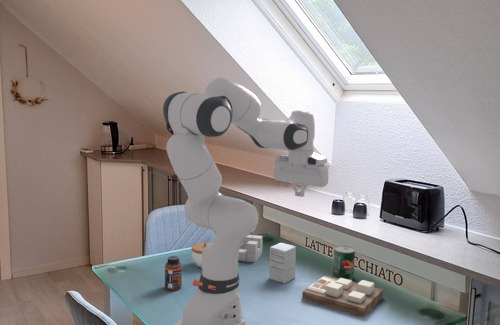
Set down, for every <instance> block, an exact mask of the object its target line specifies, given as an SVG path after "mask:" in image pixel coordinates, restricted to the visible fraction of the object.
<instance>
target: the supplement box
mask: <svg viewBox="0 0 500 325" xmlns="http://www.w3.org/2000/svg"><path fill="white" fill-rule="evenodd" d="M296 256H297V246H295V245H292V244H288V243H285V242H279V243H277V244H275V245H272V246H270V247H269V272H268V273H269V274H268V275H269V276H268V278H269V279H270V280H272V281H275V282H279V283H281V284H286V283H288V282H290V281H291V280H294V279H295V278H296V262H297V260H296Z"/></svg>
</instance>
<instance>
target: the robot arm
mask: <svg viewBox="0 0 500 325" xmlns="http://www.w3.org/2000/svg"><path fill="white" fill-rule="evenodd" d="M261 110H262V106H261V101H260V99H259V98H258V97H257V96H256V95H255V93H253V92H252V91H250V90H249V89H247V88H246V87H245V86H242V85H241V84H239V83H237V82H235V81H233V80H231V79H228V78H225V77H217V78H214V79H212V80H211V81H210V82H209V83H208V84H207V85H206V87H205V90H204V93H203V94H201V93H197V92H186V91H178V92H174V93H172V94H169V95H168V96H167V98H166V99H165V100H164V102H163V106H162V116H163V119H164V121H165V125H166V127H165V128H166V130H167V132H168V133H170V134H171V137H169V139H168V141H167V142H166V146H165V147H166V149H165V150H166V153H167V157H168V159H169V161H170V164H171V166H172V168H173V171H174V173H175V174H176V176H177V177H178V179H179V181H180V183H181V184H182V187H183V189H184V190H185V192H186V194H187V197H188V198H187V200H186V202H185V205H184V213H185V217H186V219H187V220H188V221H189V222H191V223H192V224H194V225H196V226H198V227H200V228H203V229H207V230H212V231H214V238H213V241H212V242H208V243H209V244H208V245H207V246H206V247H205V248H204V249H203V252H202V268H201V272H200V277H199V279H196V278H194V279H193V281H192V286H194V287H197V289H196V291H194V293H193V295H192V296H191V298H190V299H189V300H188V302H186V304H185V305H184V307H183V311H182V317H181V318H180V319H179V320H177V321H176V322H175V323H174V325H246V321H245V319H244V316H243V309H242V297H241V294H240V291H239V286H240V273H239V272H238V271H239V269H238V268H239V260H238V255H239V249H240V246H241V244H242V243H243V240H244V239H245V238H246V237H247V236H248V235H252V234H253V232H254V231H255V230H256V228H257V226H258V223H259V212H258V210H257V208H256V206H255V205H254V204H251V203H250V202H248V201H246V200H243V199H242V198H236V197H232V196H228V195H227V196H226V195H224V194H222V193H221V192H220V189H221V186H222V182H223V176H222V173H221V172H220V170H219V168H218V167H217V164H216V162H215V160H214V158H213V156H212V155H211V153H210V151H209V149H208V148H207V144H206V141H205V137H208V138H215V137H221V136H223V135H224V134H225V133H226V132H227V131H228V130H229V128H230V126H231V124H232V125H235V127H237V128H238V129H240V130H241V131H243V132H244V133H245V134H247V135H248V136H249V137H250V139H251V140H252V141H253V144H254V145H256V146H257V147H258V148H261V149H274V150H283V151H288V152H287V153H288V155H282V154H279V155H278V156H276V157H275V159H274V171H273V179H274V181H277V182H284V183H290V184H291V187H292V189H293V190H294V196H296V197H302V198H303V197H305V192H306V190H307V189H308V187H309V186H311V187H318V188H324V187H326V186H327V185H328V184H329V169H328V166H327V165H326V164H327V162H328V159H327V157H325V156H323V155H321V154H318V153H316V152H315V146H314V140H315V134H316V132H315V130H316V126H315V117H314V115H313V114H312V113H311V112H309V111H305V110H293V111H292V112H291V114H290V116H289V117H287V119H285V120H275V119H268V118H259V117H260V114H261ZM299 185H301V190H299V187H298V186H299Z"/></svg>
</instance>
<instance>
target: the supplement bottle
mask: <svg viewBox="0 0 500 325" xmlns="http://www.w3.org/2000/svg"><path fill="white" fill-rule="evenodd" d="M182 266H183V265H182V263H181V262H180V257H179V256H177V255H170V256H168V257H167V262H166V263H165V264H164V288H165V289H166V290H168V291H177V290H180V289H181V288H182V285H183V284H182V281H183V280H182V275H183V273H182V270H183V268H182Z"/></svg>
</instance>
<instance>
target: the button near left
mask: <svg viewBox="0 0 500 325" xmlns="http://www.w3.org/2000/svg"><path fill="white" fill-rule="evenodd" d="M326 294H327V295H331V296H334V297H339V296H341V295H342V294H343V285H342V284H338V283H334V282H330V283H329V284H328V285H326Z"/></svg>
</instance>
